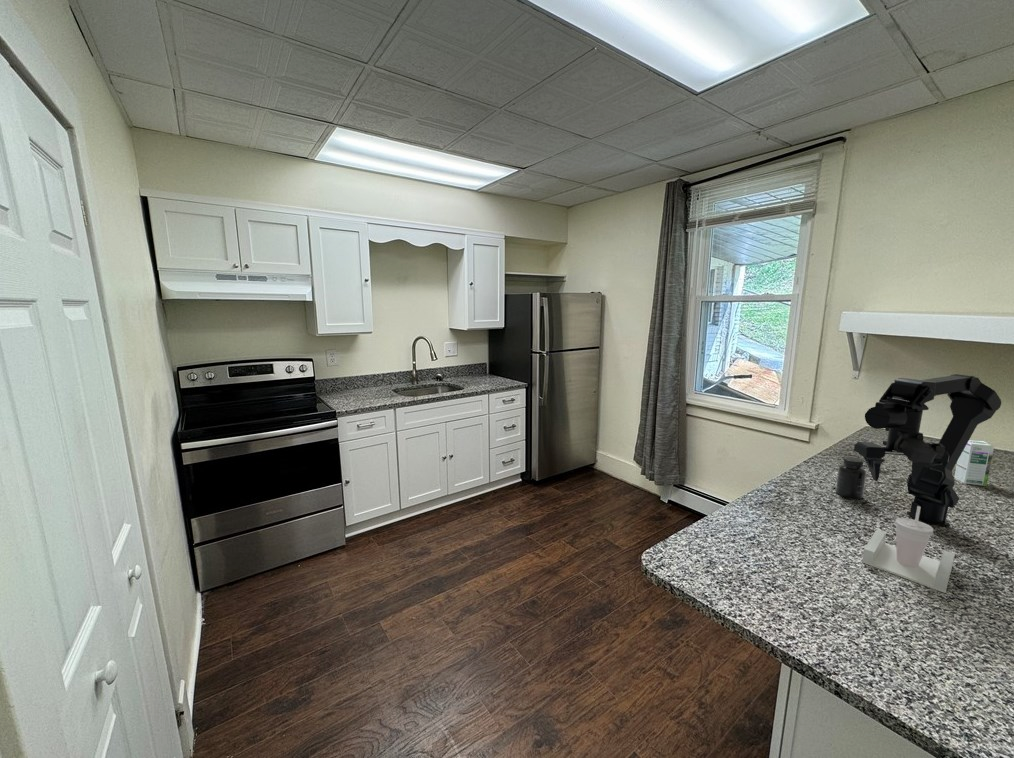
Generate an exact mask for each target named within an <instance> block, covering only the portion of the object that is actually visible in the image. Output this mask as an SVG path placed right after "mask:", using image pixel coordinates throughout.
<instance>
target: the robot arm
mask: <svg viewBox="0 0 1014 758" xmlns="http://www.w3.org/2000/svg"><path fill="white" fill-rule="evenodd" d="M941 395H947V396H948V398H949V399H950V401H951V403H950V404H949V408H950V411H951V414H952V418H951V419H950V422H949V424H948V425H947V426H946V429H945V430H944V432H943V434H942V436H941V437H940V439H939V441H938V443H937V442H936V443H935V442H933V443H930V442H926V441H925V440H924V436H925V435H924V433H923V432H920V429H921V423H922V417H923V411H928V410H929V406H928V405H926V403H928V402H930V401H933V400H935V397H936V396H941ZM1001 406H1002V400H1001V398H1000V396H999V395H998V393H997V392H996V391H995V390H994V389H992V388H991V387H989V386H987V384H985V383H983V382H982V381H981V380H980V378H979V377H976V376H974V375H968V374H967V375H966V374H958V373H955V374H950V375H947V376H941V377H940V376H939V377H934V378H927V379H926V378H925V379H918V378H917V379H916V378H906V377H898V378H895V379H894V381H893V382H891V383H890V385H889V386H888V388H887V389H886V390H885V392H884V393H883V395H881V397H880V399H878V402H875V405H874V406H872V407H870V408H868V410H866V412H864V413H865V414H864V420H865V422H866V424H867V425H868V426H869V427H871V428H873V429H875V430H877V429H878V430H881V429H883V430H885V431H886V432H887V433H888V434H887V437H886V438H887V439H886V440H883V441H882V445H883V446H880V445H878V444H877V443H874V442H873V441H857V442H856V443H855V444H854V447H853V451H854V452H856V453H858V455H860V456H861V457H863V459H864V460H865V462H866V465H867V467H868V469H869V472H870V474H871V478H872V480H873V481H874V482H878V481H879V478H880V473H881V467H882V464H883V463H884V462H886V460H885V459H883V458H884V457H885V456H886V455H891V456H892V455H894V456H905V457H907V459H908V460H909V461H910V462H911V472H910V474H909V475H908V477H907V480H906V486H907V494H908V495H912V496H914V497H913V500H912V501H911V506H910V509H909V510H910V511H906V514H907V515H909V516H910V517H912V518H914V519H915V517H916V511H917V506H920V507H921V509H920V514H919V520H918V521H920V522H923V523H925V524H927V525H929V526H931V525H932V526H933V525H934V526H943V527H950V526H951V523H949V522H947V521H946V520H947V515H948V510H949V508H955V507H956V506H957V505H958V504H959V501H960V498H959V496H958V494H957V493H956V492H955V491H956V490H954V486H955V484H956V482H955V481H956V480H955V479H954V478H955V477H954V474H953V469H954V468H955V466H956V465H957V461H958V459H959V457H960V455H961V454H962V452H963V450H964V448H965V446H966V445H967V443H968V441H969V440H971V438H972V435H973V433H974V432H975V430H976V428H977V426H978V425H979V424H981V423H984V422H986V421H988V420H990V419H992V417H993V416H994V415H995V413H996V412H997V411H998V410H999V409H1000V408H1001Z"/></svg>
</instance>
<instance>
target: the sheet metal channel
mask: <svg viewBox="0 0 1014 758" xmlns="http://www.w3.org/2000/svg"><path fill="white" fill-rule="evenodd" d="M886 536H887V531H884V530H881V529H879V528H877V529H875V531H874V533H873V535H872V536H871V538H870V539H869V541H868V542H867V544H866V545H865V547H864V548H863V555H862V559H861V562H862V563H863V564H864V565H865V564H866V565H869V566H871V567H874V568H877V569H879V570H881V571H885V572H887V573H890V574H892V575H895V576H898V577H901V578H904V579H906V580H909V581H911V582H914V583H916V584H920V585H922V586H924V587H926V588H927V587H928V588H931V589H933V590H936V591H939V592H941V593H944V594H947V593H946V592H947V588H948V584H949V581H950V576H951V573H952V569H953V564H954V559H955V555H956V553H955V552H951V551H948V550H942V555H941V556H940V557H941V558H940V560H938V559H934V558H932V557H928V556H925V555H923V556H922V558H921V561H920V563H919V566H918V567H909V566H906V565H903V564H901V563H899V562H898V561H897V553H896V546H895V545H893V544H889V543H886Z"/></svg>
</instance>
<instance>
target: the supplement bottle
mask: <svg viewBox="0 0 1014 758" xmlns="http://www.w3.org/2000/svg"><path fill="white" fill-rule="evenodd" d="M863 467H864V460H863V459H861V458H858V457H851V456H844V457H843V462H842V465H840V466H839V467H838V470H837V478H836V484H835V485H836V486H835V492H836V493H837V494H838V495H839V496H842V497H845V498H848V499H853V500H859V499H862V498H863V497H864V492H865V491H864V490H865V486H866V485H865V484H866V477H867V471H866V470H865V469H864V468H863Z"/></svg>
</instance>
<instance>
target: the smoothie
mask: <svg viewBox="0 0 1014 758" xmlns="http://www.w3.org/2000/svg"><path fill="white" fill-rule="evenodd" d="M920 509H921V507H920V506H917V511H916V517H915V518H914V519H912V518H907V517H898V518H895V521H894V525H895V526H896V527H895V528H896V529H895V531H896V533H895V534H896V537H895V538H896V540H895V542H896V543H895V545H896V553H897V561H898V562H899V563H901V564H903V565H906V566H909V567H918V566H919V563H920V561H921V558H922V556H924V553H925V550H926V548H927V545H928V543H929V541H930V537H931V536H933V535H934V528H933V527H932V526H931V525H929V524H925V523H923V522H920V521H918V520H919V514H920Z"/></svg>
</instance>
